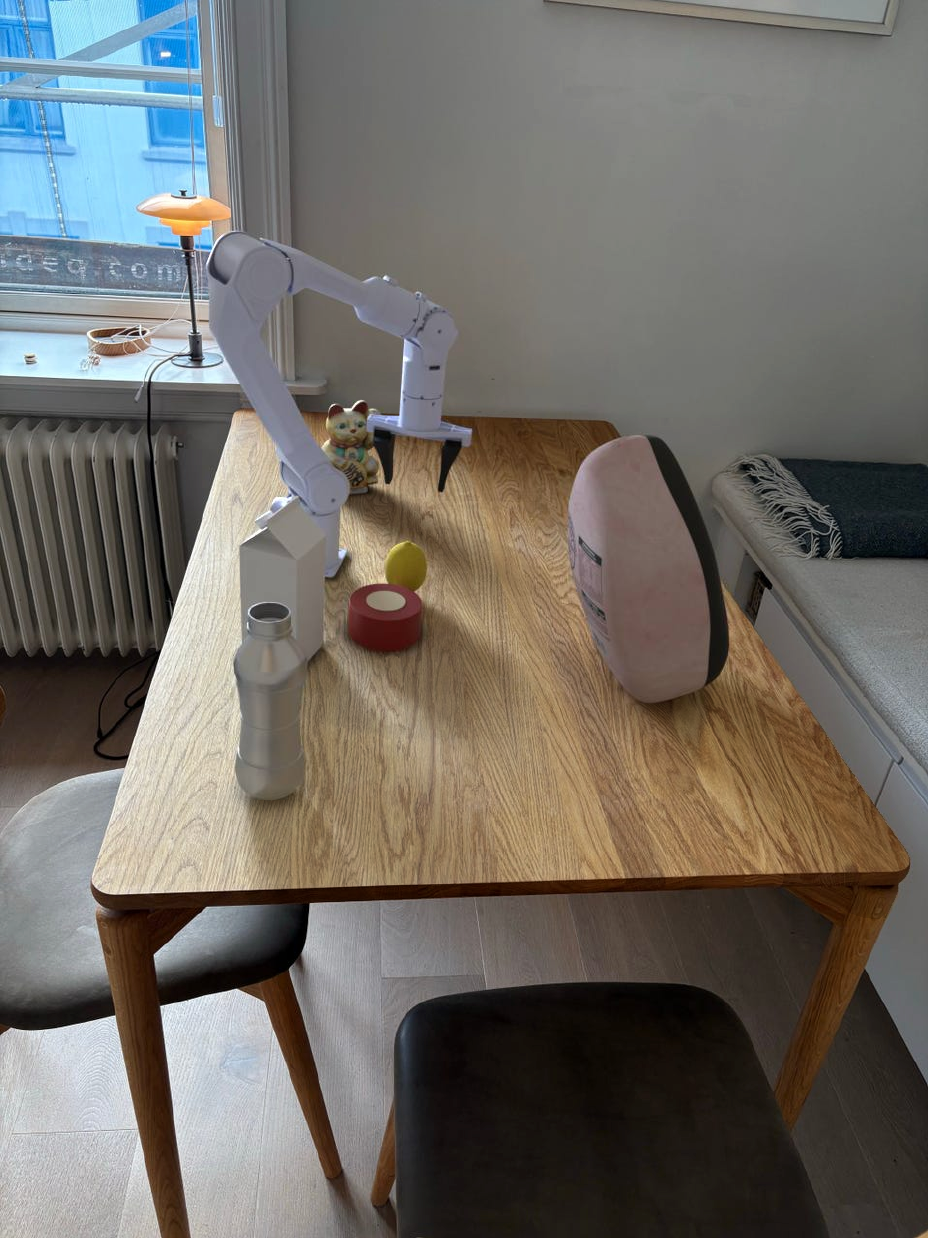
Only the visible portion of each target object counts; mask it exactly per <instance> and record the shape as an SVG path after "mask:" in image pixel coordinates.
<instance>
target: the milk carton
mask: <svg viewBox="0 0 928 1238" xmlns="http://www.w3.org/2000/svg"><path fill="white" fill-rule="evenodd" d="M254 524H255V525H256V526H257V527H258V529H259V530H257V531H256V532H254V533H253V534H252V535H251V536H249V537H248V538H247V539H245V540H244V541H243V542H242V543H240V544H239V545H238V546H239V548H238V549H239V551H238V553H239V554H238V556H239V558H238V559H239V591H240V592H239V594H240V595H239V596H240V597H239V599H240V627H241V628H240V631H241V634H240V637H241V644H242V643H243V641H244V640H245V639H246V638H247V637H248V636H249V633H248V631H247V623H248V610H249V609H250V607H252V606H253V605H255V604H258V603H263V602H276V603H281V604H283V605H286V606H287V607H288V608H289V609H290V611H291V622H292V629H293V630H292V633H291V635H292V636H293V637H294V638H295V639H296V640H297V641H298V643H299V644H300V645H301V646H302V648H303V649H304V651H305V654H306V657H307V662H309V661H311V659H312V657H313V656H314V655H315V654H316V653H317V652H318V651H319V650H321V648H322V647H323V645H324V629H325V628H324V625H325V624H324V623H325V589H326V588H325V587H326V585H325V583H326V582H325V581H326V577H325V551H326V534H325V533H324V532H323V531H322V530H321V528H320V527H319V526H318V525H317V524H316V523H315V522H314V521H313V519H312V518H311V517H310V516H309V515H308V514H307V513H306V512H305V510H304V509H303V508H302V507H301V506H300V505H299V496H296V497H295V498H293V499H292V500H291V501H289V502H288V503H287V504H285V505H284V506H283V507H282V508H280V509H279V510H278V511H276V512H275V513H274V514H273V513H272V512H271V511H270V510H269V511H267V512H265V513H264V514H262V515H260V516H258V517H257V518H256V519H255V520H254Z"/></svg>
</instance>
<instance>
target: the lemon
mask: <svg viewBox="0 0 928 1238" xmlns="http://www.w3.org/2000/svg"><path fill="white" fill-rule="evenodd" d="M427 573H428V564H427V558H426V554H425V552H424V551H423V550H422V548H421V547H420V546H419V545H417V544H416V543H413V542H411V541H410V540H405V541H403V542H400V543H397V544H396V545H394V546H393V547H392V548H390V550H389V552H388V554H387V555H386V560H385V563H384V575H385V579H386V582H387V584H394V585H399V586H403V587H406V588H408V589H410V590H412V591H414V592H415V593H416V591H418V590H419V589H420V588H421V587H422V585H423V584H424V582H425V580H426V577H427Z"/></svg>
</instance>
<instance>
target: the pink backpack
mask: <svg viewBox="0 0 928 1238" xmlns="http://www.w3.org/2000/svg"><path fill="white" fill-rule="evenodd" d="M694 495H695V494H694V493H693V491H692V489H691V486H690V483H689V482H688V480H687V478H686V476H685V473H684V471H683V469H682V467H681V465H680V463H679V461H678V459H677V458H676V456H675V454H674V453H673V451H672V449H671V448H670V447H669V445H668V444H667V443H666V442H665V441H664V440H663V439H662V438H660V437H659V436H657V435H650V434H635V435H627V436H621V437H618V438H615V439H612V440H610V441H607V442H606V443H604V444H602V445H600V446H598V447H596V448H595V449H594V450H592V451H591V452H590V453H589V454H588V455H587V456H586V457H585V458H584V460H583V461H582V462H581V464H580V466H579V469H578V471H577V473H576V475H575V478H574V481H573V485H572V488H571V493H570V497H569V501H568V509H567V527H566V528H567V548H568V549H567V550H568V558H569V565H570V569H571V573H572V574H571V575H572V578H573V581H574V584H575V589H576V591H577V595H578V598H579V600H580V604H581V607H582V610H583V614H584V616H585V619H586V622H587V625H588V627H589V631H590V633H591V636H592V638H593V641H594V643H595V646H596V648H597V650H598V651H599V654H600V656H601V657H602V659H603V661H604V662H605V664H606V666H607V667H608V669H609V670H610V671H611V673H612V674H613V676H614V677H615V678H616V680H617V681H618V682H619V684H621V686H622V687H623V689H624V690H625V691H626V692H627V693H628V694H629V695H630V696H631V697H632V698H634V699H635V700H637V701H639V702H641V703H644V704H655V703H661V702H665V701H669V700H672V699H676V698H679V697H682V696H686V695H689V694H691V693H694V692H696V691H699V690H701V689H703V688H705V687H706V686H708V685H709V684H711V683H713V682H714V681H715V680H716V679H717V678H718V677H719V676H720V675H721V674H722V673H723V672H722V671H723V670H724V668H725V667H726V666H725V665H726V663H727V661H728V656H729V651H730V629H729V622H728V621H729V620H728V615H727V613H728V612H727V609H726V608H727V607H726V602H725V597H724V596H725V595H724V591H723V585H722V581H721V576H720V571H719V565H718V561H717V557H716V553H715V549H714V546H713V542H712V539H711V538H710V534H709V532H708V529H707V526H706V524H705V521H704V518H703V516H702V512H701V511H700V508H699V505H698V503H697V500H696V498H695V496H694Z"/></svg>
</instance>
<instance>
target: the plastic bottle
mask: <svg viewBox="0 0 928 1238" xmlns="http://www.w3.org/2000/svg"><path fill="white" fill-rule="evenodd" d="M292 630H293V629H292V622H291V611H290V609H289V608H288V607H287V606H286V605H283V604H281V603H276V602H263V603H258V604H255V605H253V606H252V607H250V609H249V610H248V623H247V631H248V633H249V636H248V637H247V638H246V639H245V640H244V641H243V643H242V642H241V644H240V645H239V647H238V648H237V649H236V652H235V655H234V658H233V660H232V661H233V662H232V663H233V664H232V666H233V674H234V679H235V685H236V689H237V695H238V700H239V711H240V733H239V743H238V747H237V751H236V755H235V763H234V772H235V776H236V780H237V783H238V785H239V787H240V788H241V789H242V790H243V791H244V792H245V793H246V794H247V795H248V796H250V797H251V798H254V799H257V800H261V801H275V800H281V799H283V798H286V797H288V796H290V795H291V794H293V793H294V792H295V791H296V790H297V789H298V788H299V787H300V786H301V785H302V784H301V783H302V782H303V780H304V774H305V771H306V758H305V752H304V747H303V745H302V733H301V709H302V699H303V697H302V696H303V692H304V687H305V683H306V682H305V681H306V677H307V672H308V662H309V661H308V662H307V657H306V654H305V651H304V649H303V648H302V646H301V645H300V644H299V643H298V641H297V640H296V639H295V638H294V637H293V636H292V635H291V633H292Z"/></svg>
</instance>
